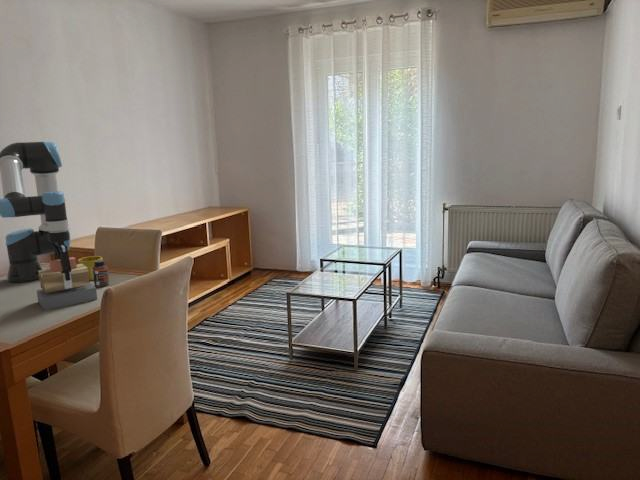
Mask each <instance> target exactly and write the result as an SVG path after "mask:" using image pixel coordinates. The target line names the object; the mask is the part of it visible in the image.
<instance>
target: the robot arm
mask: <svg viewBox="0 0 640 480" xmlns="http://www.w3.org/2000/svg"><path fill="white" fill-rule="evenodd" d="M62 167H63V164H62V160H61V156H60V153H59V149H58V146H57V145H56V143H55V142H54V141H53V142H52V141H51V142H50V141H27V142H21V141H20V142H19V141H18V142H13V143H10V144H8V145H7V146H5V147H4V148H2V149H1V151H0V179H1V180H0V181H1V187H2V196H3V198H0V217H1V218H13V219H14V218H19V217H30V216H40V222H41V223H40V225H39V226H38V230H37V231H35V230H34V229H33V228H25V229H20V230H19V229H18V230H16V231H12V232H9V233H8V234H7V235H6V236H5V246H6V250H7V257H8V263H9V266H8V271H7V276H6V277H7V282H9V283H25V282H26V283H27V282H32V281H36V280H40V279H39V272H38V271H40V270H44V269H43V267H42V265H41V264H40V262H39V258H38V256H42V255H44V256H45V255H52V254H54V260H56V259H60V261H61V265H62V269H63V271H61V273H63V280H64V287H65V289H68V288H73V287H72V280H71V272H70V271H71V266H70V261H69V252H68V251H70V246H71V231H70V227H69V222H68V221H69V220H68V217H67V210H66V209H67V207H66V198H65V196H64V195H65V194H64V192H63V191H60V190H59V189H58V182H57V174H58V173H59V172H60V170H59V168H62ZM23 169H24V170H25V169H29V172H30V173H31V175H33V176H34V179H35V187H36V195H35V196H34V195H33V196H26V192H25V191H26V190H25V185H24V179H23V174H22V170H23ZM66 268H68V269H66Z"/></svg>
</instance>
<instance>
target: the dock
mask: <svg viewBox="0 0 640 480" xmlns="http://www.w3.org/2000/svg"><path fill="white" fill-rule="evenodd" d="M36 297H37V302H38V304H39V305H40V306H41V308H42V309H43V311H49V310H53V309H59V308H63V307H68V306H73V305H77V304H82V303H87V302H91V301H97V300H98V293H97V287H96V286H95V285H93V284H92V283H91V282H90V285H86V286H80V287H75V288H70V289H65V290H59V291H54V292H49V293H45V291H43V288H40V289H36Z"/></svg>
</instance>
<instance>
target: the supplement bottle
mask: <svg viewBox="0 0 640 480" xmlns="http://www.w3.org/2000/svg"><path fill="white" fill-rule="evenodd" d="M94 264H95V266H94V267H93V276H94V280H93V282H94V283H93V284H94V287H96V288H102V287H103V288H105V287H106V286H109V285H110V279H109V271H108V266H107V265H106V264H105V260H98V261H95V262H94ZM104 286H105V287H104Z"/></svg>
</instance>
